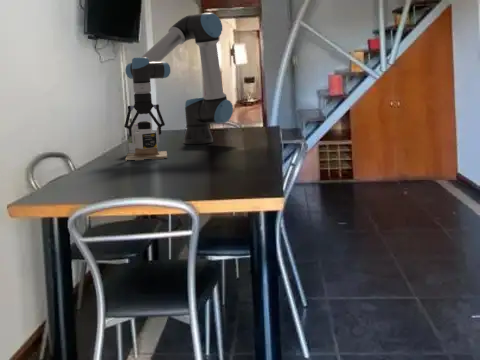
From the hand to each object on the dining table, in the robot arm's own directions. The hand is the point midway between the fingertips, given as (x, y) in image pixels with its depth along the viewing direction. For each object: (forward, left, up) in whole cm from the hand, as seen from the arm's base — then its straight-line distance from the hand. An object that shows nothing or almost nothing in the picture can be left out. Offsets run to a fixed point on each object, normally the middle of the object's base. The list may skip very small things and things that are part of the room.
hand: (145, 142), depth 276 cm
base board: (0, 0, -6) cm, 6 cm away
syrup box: (-14, -5, -7) cm, 16 cm away
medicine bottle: (0, 0, -3) cm, 3 cm away
